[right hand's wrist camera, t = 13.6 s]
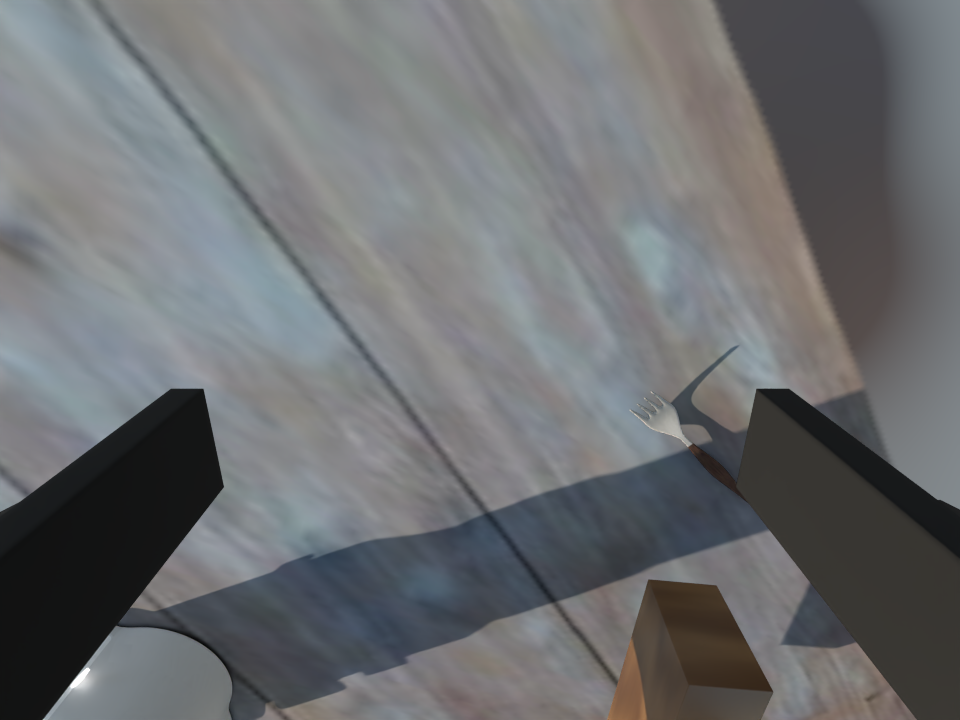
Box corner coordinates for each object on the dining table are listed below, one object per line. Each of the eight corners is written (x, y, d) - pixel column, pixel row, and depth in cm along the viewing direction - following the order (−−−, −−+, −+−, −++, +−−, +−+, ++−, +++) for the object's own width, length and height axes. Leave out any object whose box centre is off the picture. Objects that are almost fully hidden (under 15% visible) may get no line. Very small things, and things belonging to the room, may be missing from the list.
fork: (740, 512, 46) (751, 528, 44) (621, 401, 42) (627, 412, 40) (765, 494, 45) (777, 509, 44) (646, 379, 42) (654, 389, 40)
